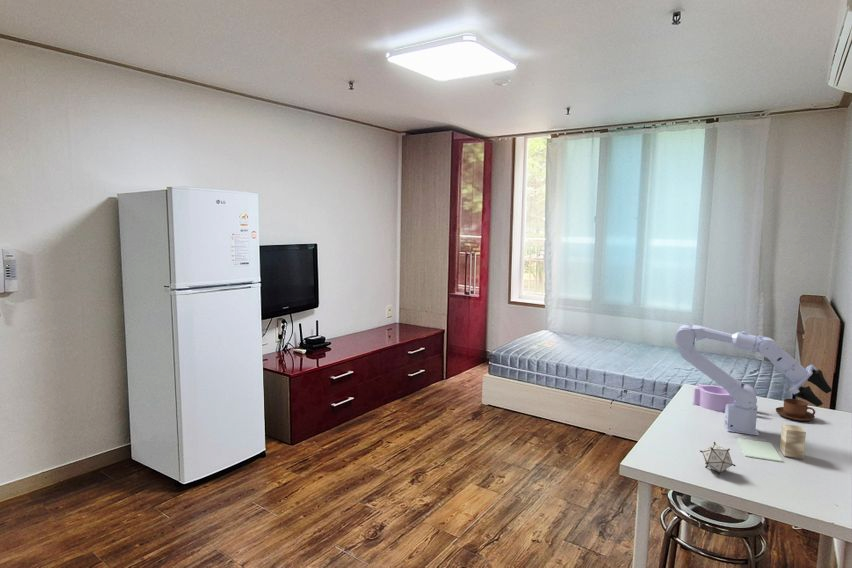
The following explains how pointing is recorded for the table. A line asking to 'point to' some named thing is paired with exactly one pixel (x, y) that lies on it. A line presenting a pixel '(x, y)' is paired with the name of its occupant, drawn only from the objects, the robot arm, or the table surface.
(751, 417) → the robot arm
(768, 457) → the mat
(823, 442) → the table surface
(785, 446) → the maple block
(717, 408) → the clip
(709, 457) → the game die
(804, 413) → the cup and saucer
